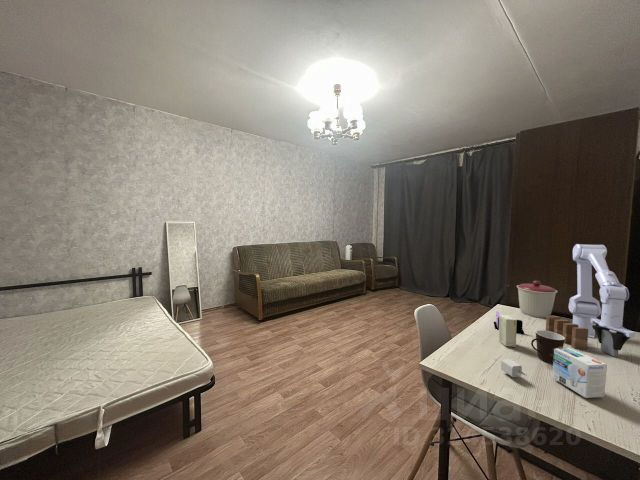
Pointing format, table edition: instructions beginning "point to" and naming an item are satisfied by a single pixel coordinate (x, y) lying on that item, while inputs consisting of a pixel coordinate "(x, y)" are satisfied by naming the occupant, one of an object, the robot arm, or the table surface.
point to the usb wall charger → (511, 368)
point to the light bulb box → (579, 372)
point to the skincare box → (507, 330)
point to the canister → (536, 299)
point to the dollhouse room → (518, 328)
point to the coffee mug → (547, 344)
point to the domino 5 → (608, 343)
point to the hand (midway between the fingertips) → (609, 346)
